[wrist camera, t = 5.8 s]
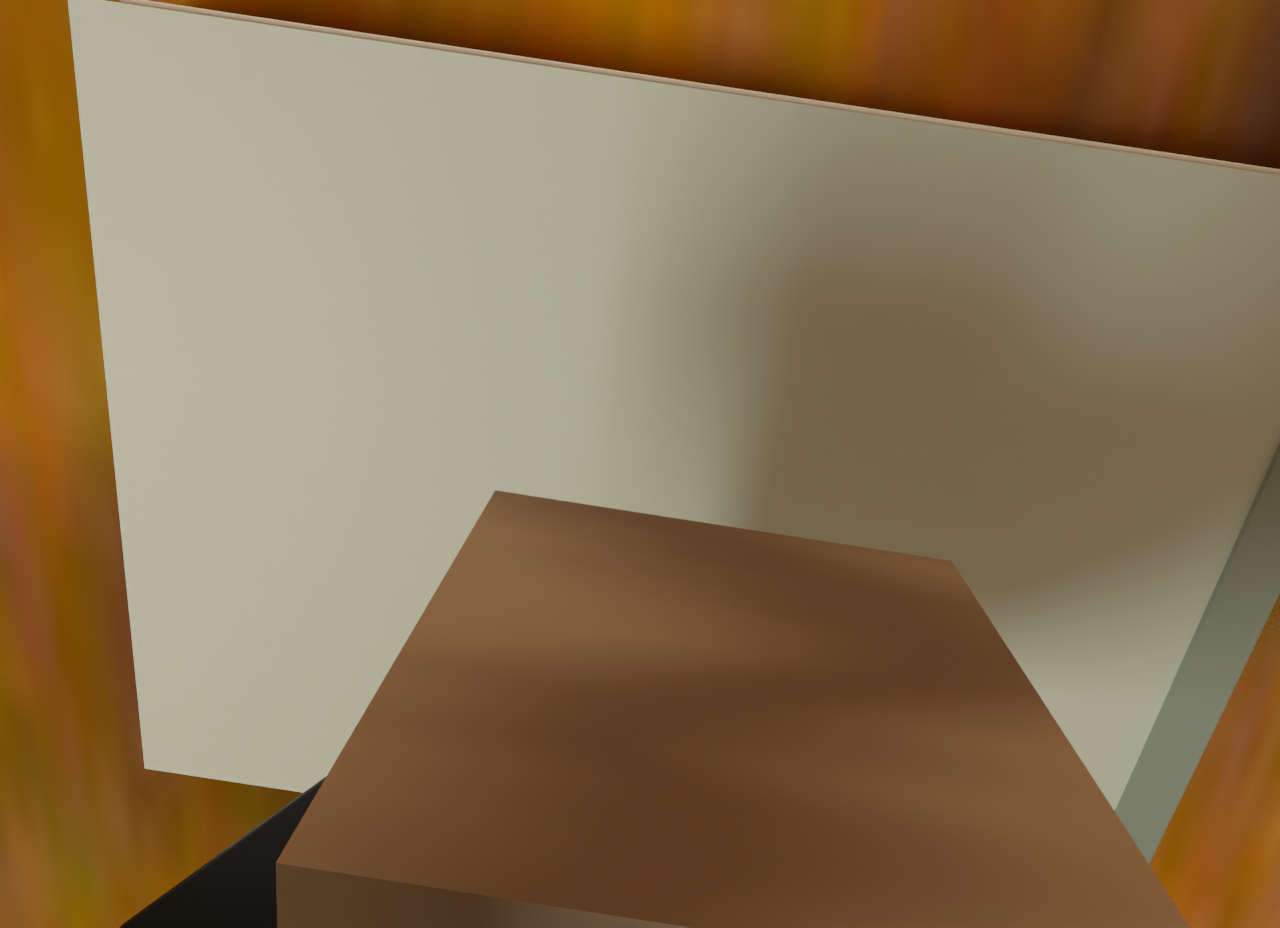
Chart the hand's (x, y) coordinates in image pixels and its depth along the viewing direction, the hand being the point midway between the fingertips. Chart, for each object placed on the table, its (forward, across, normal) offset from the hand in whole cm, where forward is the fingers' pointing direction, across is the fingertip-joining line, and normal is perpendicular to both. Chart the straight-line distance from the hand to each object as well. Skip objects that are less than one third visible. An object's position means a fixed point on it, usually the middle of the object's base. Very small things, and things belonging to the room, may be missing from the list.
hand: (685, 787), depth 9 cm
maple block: (+1, 0, 0) cm, 1 cm away
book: (+8, 0, 0) cm, 9 cm away
